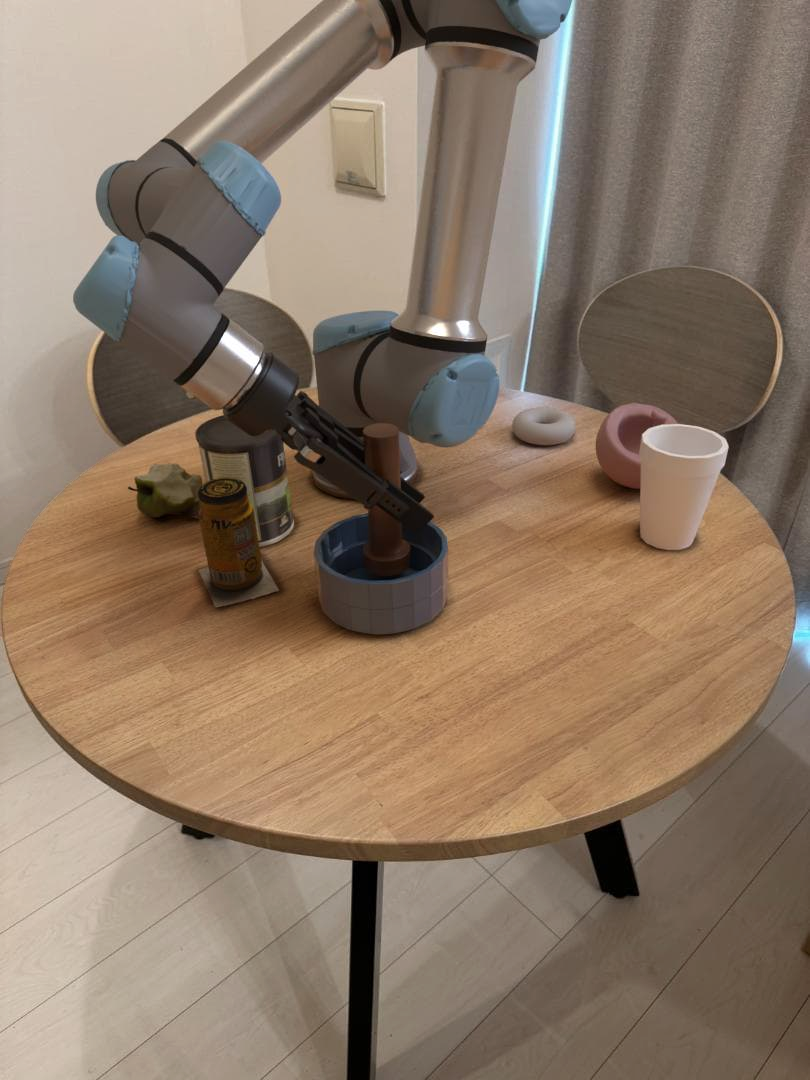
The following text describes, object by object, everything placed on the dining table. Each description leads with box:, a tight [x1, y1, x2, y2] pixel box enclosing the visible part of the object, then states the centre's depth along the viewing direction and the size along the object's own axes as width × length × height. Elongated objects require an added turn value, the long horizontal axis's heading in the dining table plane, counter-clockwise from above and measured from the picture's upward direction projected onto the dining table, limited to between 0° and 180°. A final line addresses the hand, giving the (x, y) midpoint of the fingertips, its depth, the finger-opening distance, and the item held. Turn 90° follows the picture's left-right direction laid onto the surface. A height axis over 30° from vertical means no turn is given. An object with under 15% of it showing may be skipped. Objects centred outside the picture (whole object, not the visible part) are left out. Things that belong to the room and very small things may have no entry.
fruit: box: [127, 463, 203, 520], centre depth 99 cm, size 9×9×8 cm
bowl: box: [313, 512, 449, 635], centre depth 80 cm, size 14×14×7 cm
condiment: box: [198, 477, 280, 608], centre depth 83 cm, size 7×8×12 cm
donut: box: [511, 406, 577, 446], centre depth 117 cm, size 10×3×10 cm
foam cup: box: [639, 423, 730, 551], centre depth 88 cm, size 10×9×13 cm
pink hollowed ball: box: [595, 402, 679, 490], centre depth 100 cm, size 12×12×12 cm
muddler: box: [363, 423, 410, 576], centre depth 78 cm, size 5×5×16 cm
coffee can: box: [194, 414, 295, 548], centre depth 92 cm, size 10×10×14 cm
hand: (420, 513), depth 80 cm, fingers closed on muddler, 4 cm apart
